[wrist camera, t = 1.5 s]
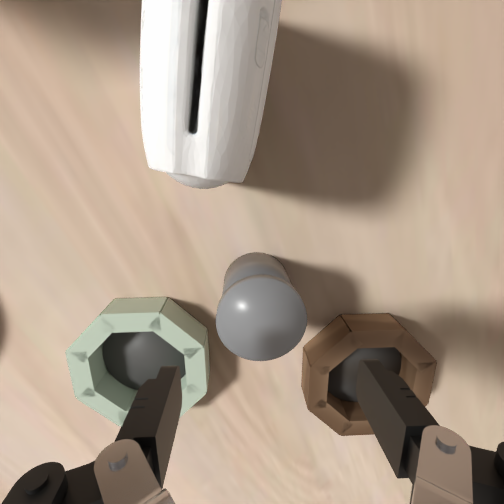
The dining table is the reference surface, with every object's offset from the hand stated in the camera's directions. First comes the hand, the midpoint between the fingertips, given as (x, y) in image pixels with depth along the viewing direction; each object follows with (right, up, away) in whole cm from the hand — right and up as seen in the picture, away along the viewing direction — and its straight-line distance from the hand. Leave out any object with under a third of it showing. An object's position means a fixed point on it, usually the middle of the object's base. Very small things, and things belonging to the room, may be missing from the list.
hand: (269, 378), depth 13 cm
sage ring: (-9, -3, +11) cm, 15 cm away
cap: (-1, +3, +10) cm, 11 cm away
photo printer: (-3, +16, +6) cm, 17 cm away
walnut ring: (+9, -4, +13) cm, 16 cm away
